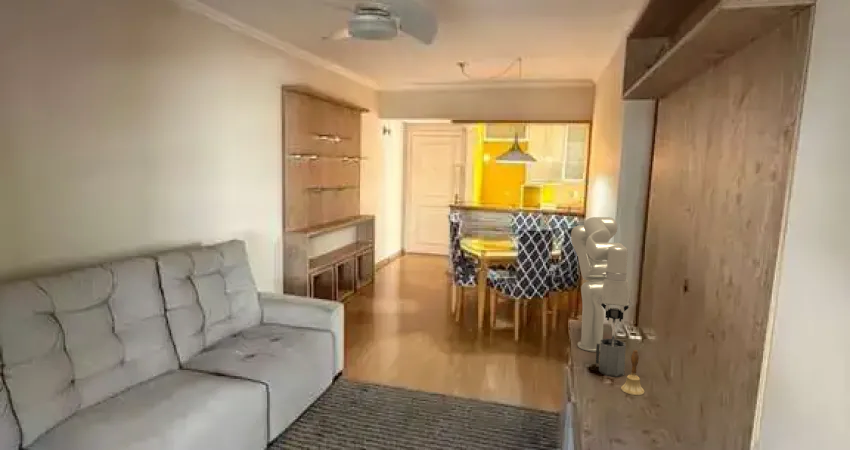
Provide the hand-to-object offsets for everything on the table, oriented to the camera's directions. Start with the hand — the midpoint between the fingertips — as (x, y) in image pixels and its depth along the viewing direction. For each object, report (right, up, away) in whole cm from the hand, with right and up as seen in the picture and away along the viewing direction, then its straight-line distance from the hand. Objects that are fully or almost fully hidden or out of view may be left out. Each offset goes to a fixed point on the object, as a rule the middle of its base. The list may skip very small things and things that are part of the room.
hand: (614, 319), depth 203 cm
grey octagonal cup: (0, -22, +3) cm, 22 cm away
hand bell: (+2, -24, -14) cm, 28 cm away
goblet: (0, -12, +1) cm, 12 cm away
